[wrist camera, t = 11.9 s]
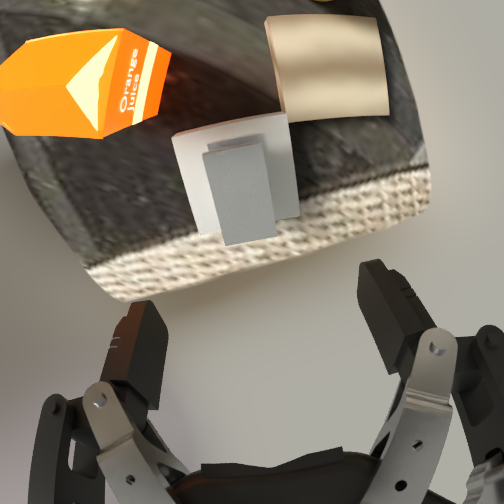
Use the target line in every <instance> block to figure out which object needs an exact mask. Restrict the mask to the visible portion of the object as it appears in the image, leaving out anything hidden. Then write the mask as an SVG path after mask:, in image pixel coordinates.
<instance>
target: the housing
mask: <svg viewBox="0 0 504 504" xmlns="http://www.w3.org/2000/svg"><path fill="white" fill-rule="evenodd" d="M207 147H208V151H207V152H203V154H202V158H203V162H204V166H205V170H206V174H207V178H208V182H209V186H210V190H211V193H212V197H213V201H214V205H215V209H216V212H217V216H218V220H219V224H220V227H221V231H222V235H223V238H224V242H225V246H228V245H234V244H239V243H244V242H249V241H255V240H260V239H265V238H271V237H276V236H277V231H276V225H275V218H274V212H273V206H272V200H271V193H270V187H269V181H268V176H267V170H266V164H265V158H264V153H263V147H262V143H261V141H258V137H257V133H250V134H245V135H240V136H235V137H230V138H225V139H220V140H216V141H211V142H208V143H207Z"/></svg>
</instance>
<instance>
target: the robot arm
mask: <svg viewBox="0 0 504 504" xmlns="http://www.w3.org/2000/svg"><path fill="white" fill-rule="evenodd" d="M357 298H358V303H359V307H360V309H361V311H362V313H363V315H364V317H365V320H366V322H367V324H368V327H369V329H370V331H371V333H372V336H373V338H374V340H375V343H376V345H377V347H378V350H379V352H380V355H381V357H382V359H383V361H384V364H385V367H386V369H387V372H388V374H389V375H391V374H393V373H397V372H398V373H399V375H400V378H401V379H400V381H399V384H398V387H397V390H396V393H395V396H394V399H393V402H392V404H391V407H390V410H389V412H388V415H387V417H386V420H385V423H384V425H383V427H382V429H381V430H380V432H379V434H378V436H377V438H376V440H375V442H374V444H373V446H372V449H371V451H370V453H369V455H367V454H363V453H358V452H343V449H342V446H341V447H338V448H333V449H329V450H325V451H320V452H315V453H310V454H306V455H304V456H301V457H299V458H297V459H294V460H292V461H289V462H287V463H284V464H281V465H279V466H277V467H273V468H266V467H258V466H250V465H244V464H238V463H220V464H201V470H198V471H196V472H193V473H191V472H190V471H189V470H188V469H187V467H186V466H185V465H184V464H183V463H182V462H181V461H180V460H179V459H177V458H176V457H175V456H174V455H173V453H172V452H171V451H170V449H169V448H168V447H167V445H166V444H165V442H164V441H163V439H162V438H161V436H160V435H159V434H158V432H157V430H156V429H155V427H154V426H153V424H152V423H151V421H150V420H149V418H148V417H147V414H148V410H158V409H159V401H160V393H161V385H162V378H163V371H164V364H165V358H166V351H167V345H168V330H167V327H166V325H165V323H164V321H163V319H162V318H161V316H160V314H159V313H158V311H157V309H156V307H155V305H154V304H153V302H152V301H151V300H146V301H140V302H133V303H132V304H131V306H130V308H129V311H128V315H127V316H125V317H123V318H122V319H121V321H120V322H119V324H118V325H117V326H116V328H115V331H114V334H113V340H112V341H111V344H110V348H109V350H108V354H107V357H106V360H105V364H104V367H103V370H102V374H101V377H100V381H99V382H96V383H94V384H92V385H91V386H89V387H88V388H87V390H86V391H85V393H84V396H83V397H79V398H76V399H72V400H67V399H66V398H64V397H63V396H62V395H60V394H53V395H51V396H49V397H48V398H47V399H46V401H45V402H44V404H43V407H42V411H41V415H40V419H39V424H38V429H37V434H36V438H35V444H34V450H33V456H32V463H31V470H30V481H29V492H28V504H105V478H106V480H107V482H108V484H109V486H110V488H111V489H112V491H113V493H114V495H115V497H116V498H117V500H118V502H119V503H120V504H456V503H454V502H452V501H450V500H448V499H446V498H444V497H442V496H440V495H438V494H436V493H434V492H433V491H431V490H429V489H428V487H429V485H430V483H431V480H432V478H433V475H434V473H435V470H436V467H437V465H438V462H439V459H440V456H441V453H442V450H443V447H444V444H445V440H446V437H447V433H448V430H449V426H450V422H451V418H452V413H453V408H452V406H451V405H449V398H450V393H451V394H452V397H453V399H454V402H455V405H456V408H457V410H458V413H459V416H460V419H461V422H462V425H463V429H464V432H465V435H466V439H467V442H468V446H469V449H470V453H471V457H472V461H473V465H474V469H473V470H472V472H471V474H470V476H469V479H468V481H467V483H466V487H467V489H468V492H467V496H466V499H465V501H464V502H463V504H504V333H503V332H502V330H500V329H499V328H498V327H496V326H493V325H485V326H483V327H481V329H479V331H478V333H477V334H476V336H469V337H454V336H453V335H452V334H451V333H450V332H449V331H447V330H445V329H442V328H437V326H436V325H435V323H434V321H433V320H432V318H431V317H430V315H429V314H428V312H427V310H426V309H425V307H424V305H423V304H422V302H421V301H420V299H419V298H418V296H416V293H415V292H414V290H413V289H411V286H410V284H409V283H408V281H407V280H406V278H405V277H404V276H403V275H401V274H400V273H399V272H397V271H396V270H394V269H393V270H388V269H387V268H386V266H385V265H384V263H383V262H382V261H381V260H380V259H375V260H371V261H366V262H361V263H360V266H359V277H358V288H357ZM71 439H73V440H74V441H76V444H75V451H74V460H73V469H72V470H71V469H70V468H69V465H68V456H69V448H70V442H71Z"/></svg>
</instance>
